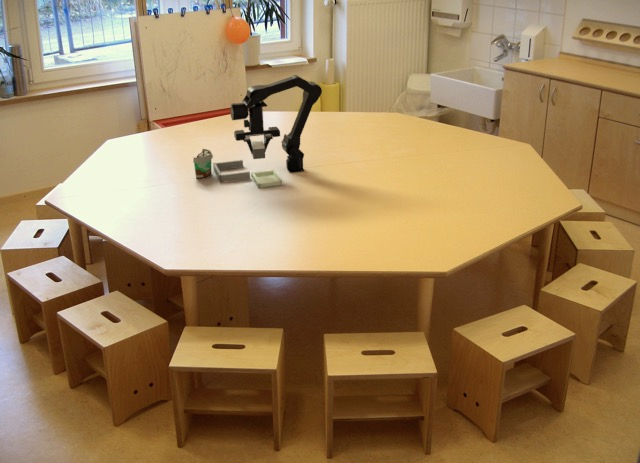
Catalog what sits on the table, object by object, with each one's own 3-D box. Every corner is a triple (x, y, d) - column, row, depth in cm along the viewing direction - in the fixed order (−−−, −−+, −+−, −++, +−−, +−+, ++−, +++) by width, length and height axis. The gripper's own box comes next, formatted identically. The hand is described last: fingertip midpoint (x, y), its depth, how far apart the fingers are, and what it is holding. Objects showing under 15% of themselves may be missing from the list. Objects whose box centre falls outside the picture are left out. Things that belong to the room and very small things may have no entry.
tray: (274, 174, 329) (274, 169, 328) (282, 185, 316) (282, 181, 316) (251, 176, 326) (251, 172, 325) (258, 188, 314) (258, 184, 313)
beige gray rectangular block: (263, 151, 329) (262, 140, 327) (265, 158, 321) (264, 146, 319) (251, 152, 328) (250, 141, 326) (253, 159, 320) (252, 147, 318)
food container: (208, 181, 322) (206, 158, 318) (195, 180, 324) (192, 158, 319) (218, 170, 333) (216, 149, 329) (204, 170, 334) (202, 148, 330)
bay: (242, 166, 338) (242, 159, 337) (250, 178, 324) (249, 172, 323) (213, 169, 335) (213, 163, 333) (219, 182, 321) (219, 175, 320)
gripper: (274, 110, 326) (275, 144, 333) (230, 114, 322) (233, 149, 329) (279, 117, 317) (281, 152, 323) (235, 121, 312) (237, 157, 319)
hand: (258, 152), depth 324 cm, fingers closed on beige gray rectangular block, 5 cm apart
